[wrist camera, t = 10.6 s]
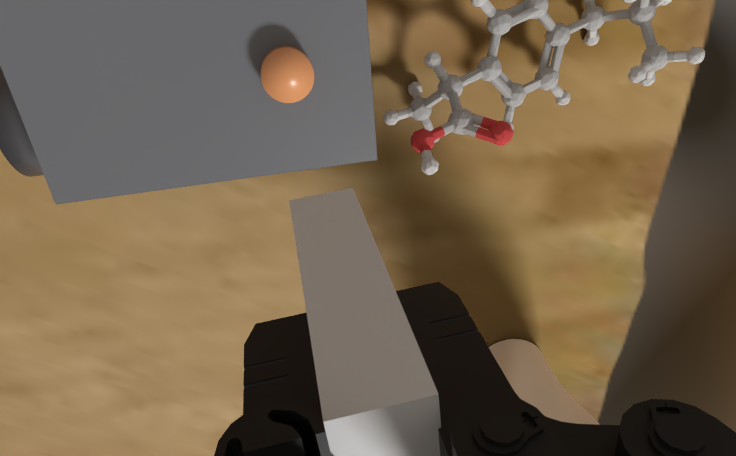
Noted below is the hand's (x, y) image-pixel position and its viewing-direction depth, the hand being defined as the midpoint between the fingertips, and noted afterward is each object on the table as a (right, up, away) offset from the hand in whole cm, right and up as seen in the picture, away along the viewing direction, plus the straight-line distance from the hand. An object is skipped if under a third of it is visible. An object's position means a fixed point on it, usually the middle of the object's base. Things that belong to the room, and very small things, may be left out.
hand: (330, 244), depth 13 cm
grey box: (-10, +12, +20) cm, 25 cm away
